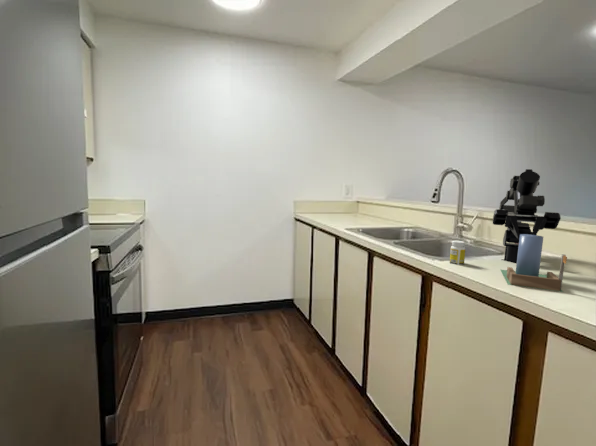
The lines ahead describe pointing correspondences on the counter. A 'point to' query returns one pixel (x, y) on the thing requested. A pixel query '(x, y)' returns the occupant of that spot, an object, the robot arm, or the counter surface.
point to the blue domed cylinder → (529, 255)
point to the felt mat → (521, 286)
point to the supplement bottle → (457, 253)
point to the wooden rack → (538, 278)
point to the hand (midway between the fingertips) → (526, 238)
